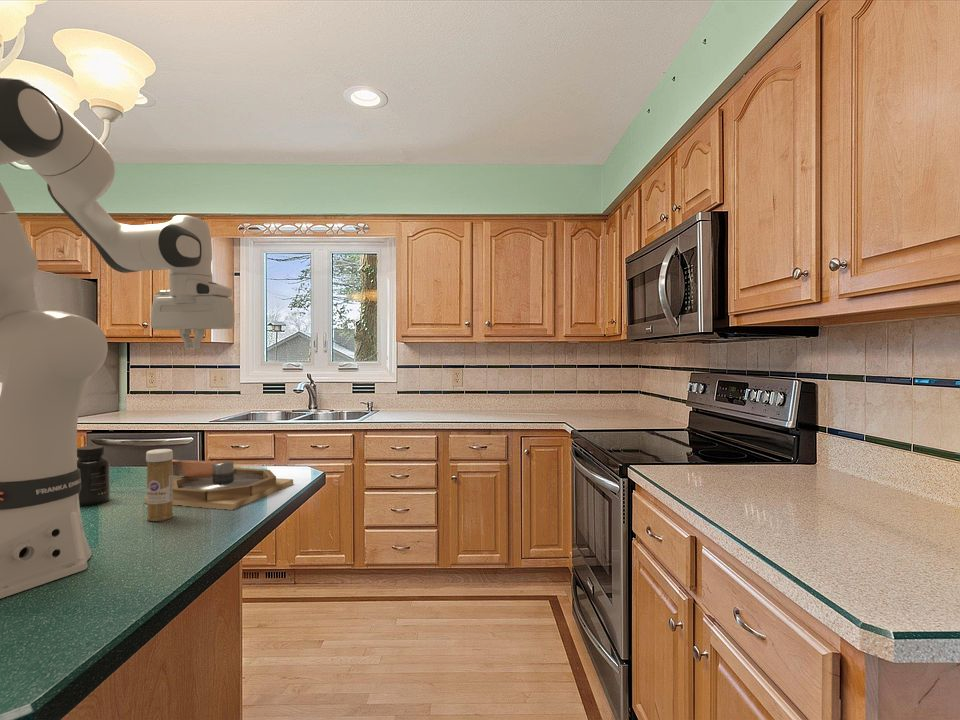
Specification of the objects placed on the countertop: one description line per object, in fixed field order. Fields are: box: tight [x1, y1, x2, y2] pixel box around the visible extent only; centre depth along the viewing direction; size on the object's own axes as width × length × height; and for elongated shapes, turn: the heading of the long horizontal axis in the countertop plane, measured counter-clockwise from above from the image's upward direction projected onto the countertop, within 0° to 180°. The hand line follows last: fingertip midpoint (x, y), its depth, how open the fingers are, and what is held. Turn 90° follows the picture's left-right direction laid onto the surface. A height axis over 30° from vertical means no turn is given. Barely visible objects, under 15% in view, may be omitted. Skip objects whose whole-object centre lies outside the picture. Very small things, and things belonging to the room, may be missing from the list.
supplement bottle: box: [77, 445, 111, 507], centre depth 119 cm, size 7×7×12 cm
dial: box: [173, 459, 263, 490], centre depth 127 cm, size 21×17×6 cm
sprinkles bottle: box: [145, 448, 174, 522], centre depth 108 cm, size 5×5×14 cm
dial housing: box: [143, 467, 294, 511], centre depth 127 cm, size 22×22×3 cm
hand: (192, 349), depth 127 cm, fingers closed
